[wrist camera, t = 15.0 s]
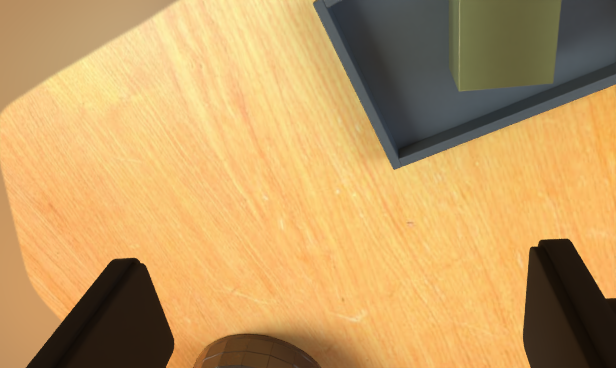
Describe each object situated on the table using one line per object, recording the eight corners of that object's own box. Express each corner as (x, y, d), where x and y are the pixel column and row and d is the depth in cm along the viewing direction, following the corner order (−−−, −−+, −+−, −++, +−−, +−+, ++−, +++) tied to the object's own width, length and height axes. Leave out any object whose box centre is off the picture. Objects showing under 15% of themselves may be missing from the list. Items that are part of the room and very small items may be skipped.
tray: (393, 157, 32) (393, 170, 30) (317, -2, 28) (312, 3, 26) (665, 49, 26) (685, 58, 25) (619, -168, 22) (639, -176, 21)
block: (448, 68, 28) (458, 91, 24) (448, -13, 26) (459, -2, 22) (530, 61, 27) (553, 83, 23) (536, -24, 25) (563, -15, 21)
